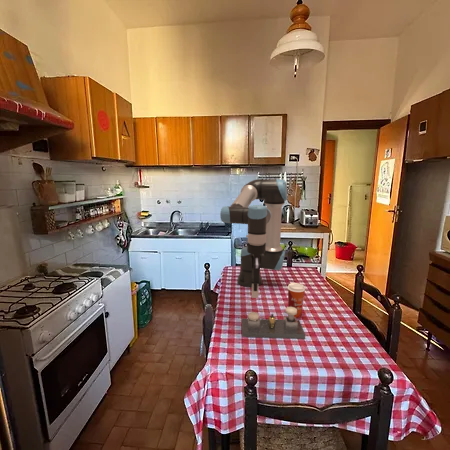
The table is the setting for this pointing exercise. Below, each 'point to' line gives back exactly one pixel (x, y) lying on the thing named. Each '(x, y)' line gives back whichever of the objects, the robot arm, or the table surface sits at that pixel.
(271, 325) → the potentiometer
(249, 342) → the table surface
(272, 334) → the panel
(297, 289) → the coffee cup
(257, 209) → the robot arm
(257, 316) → the knob
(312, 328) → the table surface
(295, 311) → the knob
